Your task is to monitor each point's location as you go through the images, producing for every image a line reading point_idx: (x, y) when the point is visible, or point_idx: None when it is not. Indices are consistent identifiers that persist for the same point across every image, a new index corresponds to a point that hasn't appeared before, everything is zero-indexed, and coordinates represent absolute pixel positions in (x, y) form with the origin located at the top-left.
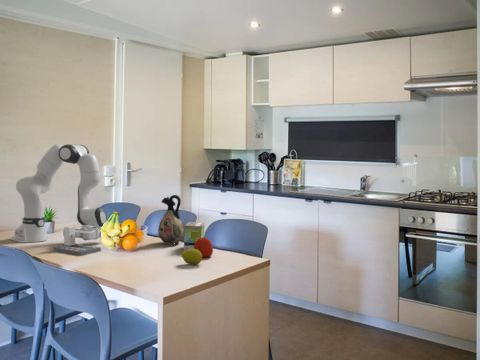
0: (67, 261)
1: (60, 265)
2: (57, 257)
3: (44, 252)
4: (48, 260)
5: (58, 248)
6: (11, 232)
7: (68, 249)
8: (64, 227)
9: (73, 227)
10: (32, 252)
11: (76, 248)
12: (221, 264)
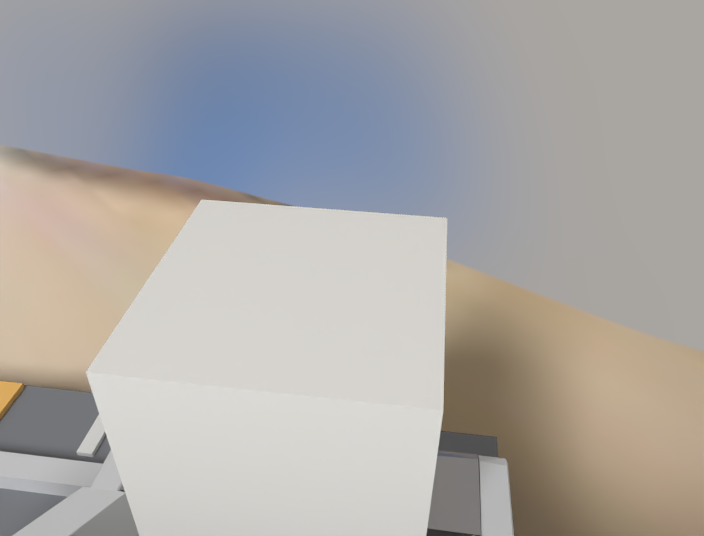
0: (5, 224)
1: (18, 160)
2: None
3: (511, 378)
4: (195, 205)
5: None
6: None
7: None
8: (427, 228)
9: (131, 328)
10: (627, 333)
11: (18, 455)
12: None
